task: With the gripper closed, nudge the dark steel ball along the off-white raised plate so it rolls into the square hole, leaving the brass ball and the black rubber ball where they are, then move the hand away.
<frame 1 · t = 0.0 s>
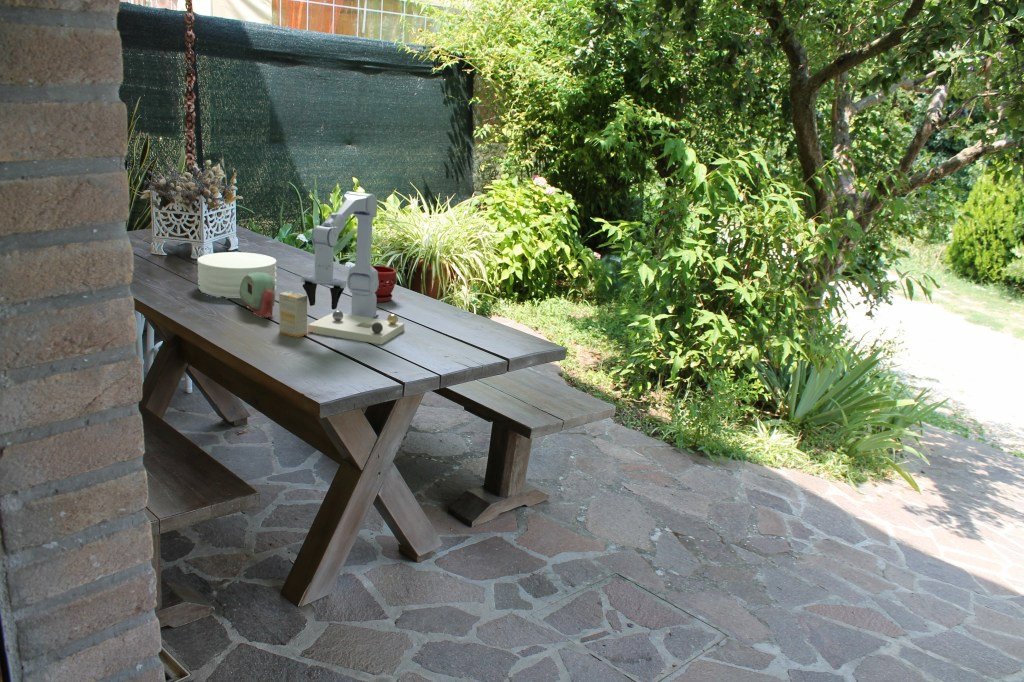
hand: (323, 307, 271), 10 cm above the table, tool pointing down, fingers open, 7 cm apart
supplement box: (293, 334, 276), on the table
black rubber ball: (377, 327, 274), point 4 cm above the table, touching hole plate
steel ball: (337, 315, 284), point 4 cm above the table, touching hole plate
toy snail: (259, 312, 297), on the table
plant pot: (377, 299, 325), on the table
brass ball: (392, 319, 285), point 4 cm above the table, touching hole plate
plate stack: (237, 290, 323), on the table
hole plate: (356, 331, 284), on the table
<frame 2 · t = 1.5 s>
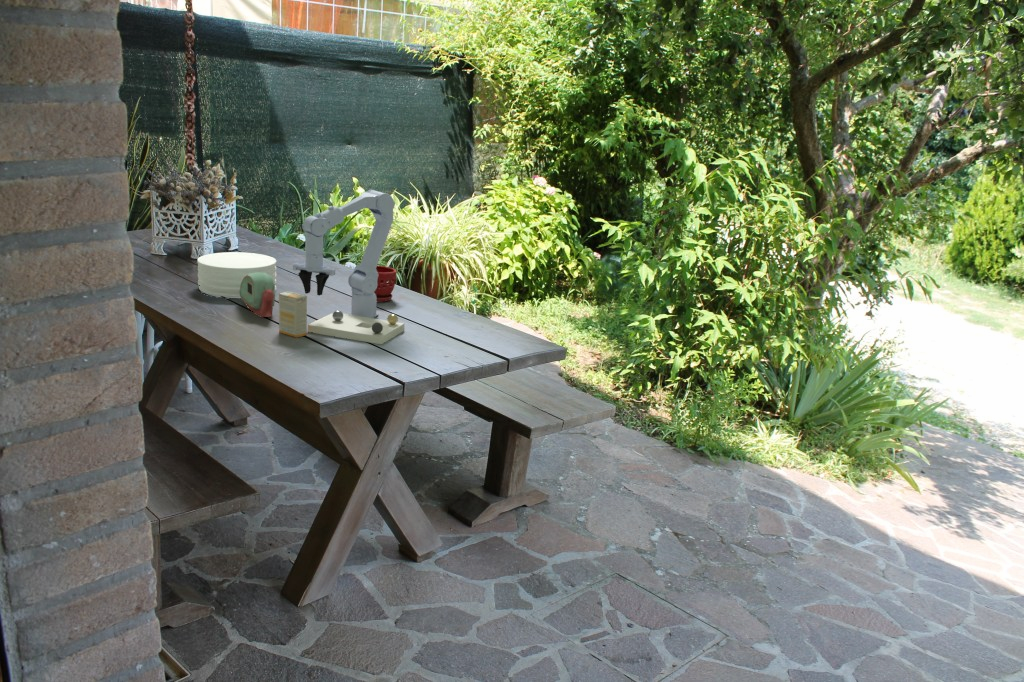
hand: (313, 293, 285), 10 cm above the table, tool pointing down, fingers open, 4 cm apart
nothing on the table moved.
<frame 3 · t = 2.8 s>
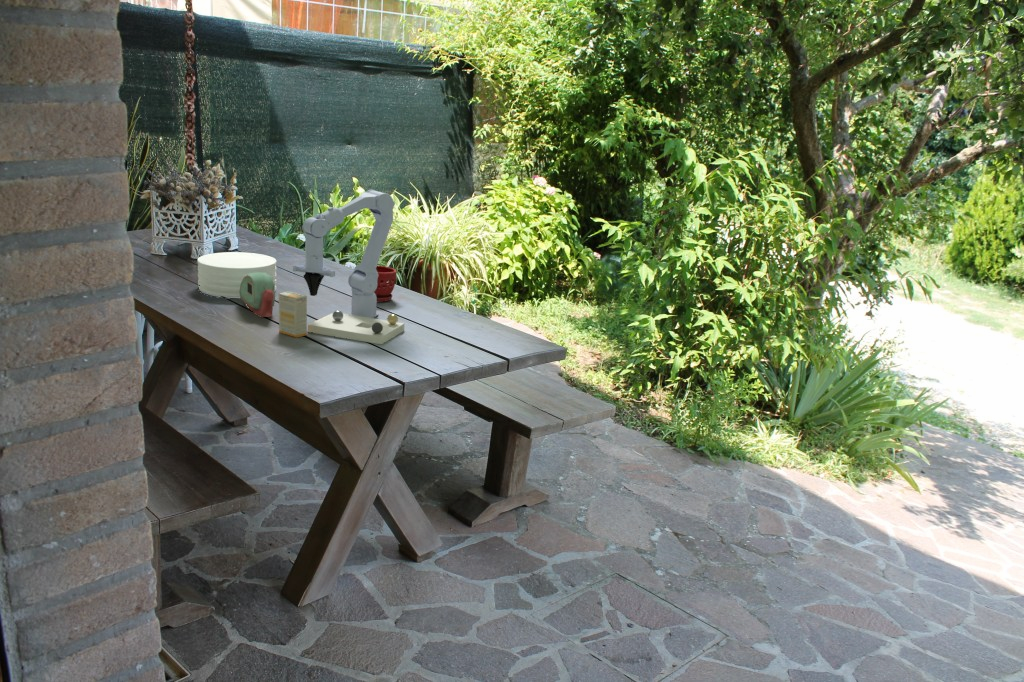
hand: (313, 295, 285), 10 cm above the table, tool pointing down, fingers closed
nothing on the table moved.
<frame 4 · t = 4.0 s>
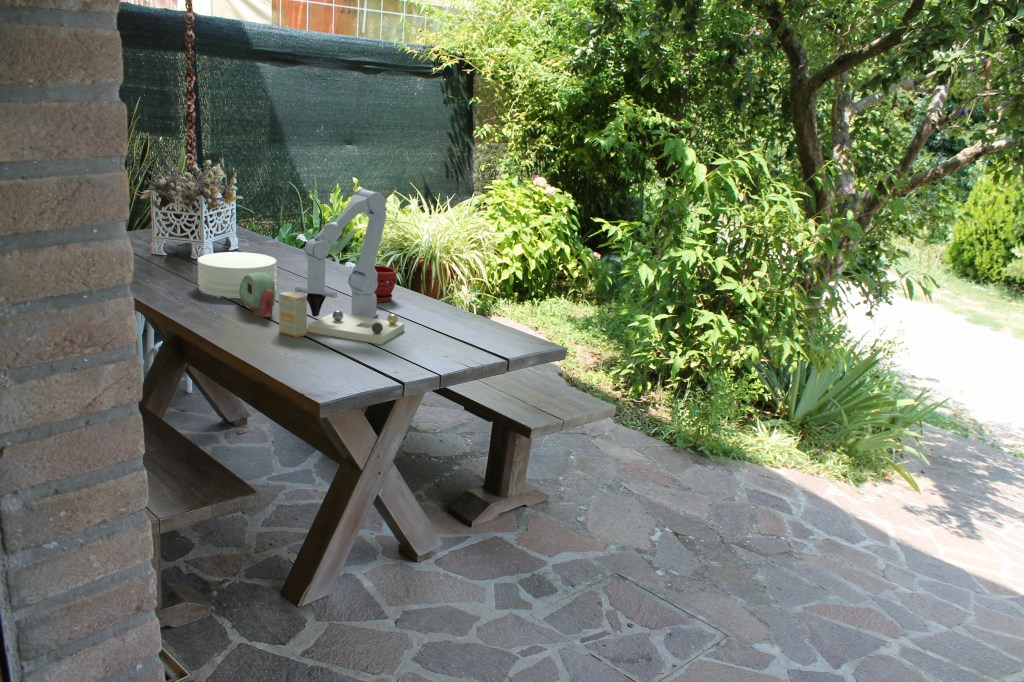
hand: (315, 315, 286), 3 cm above the table, tool pointing down, fingers closed
nothing on the table moved.
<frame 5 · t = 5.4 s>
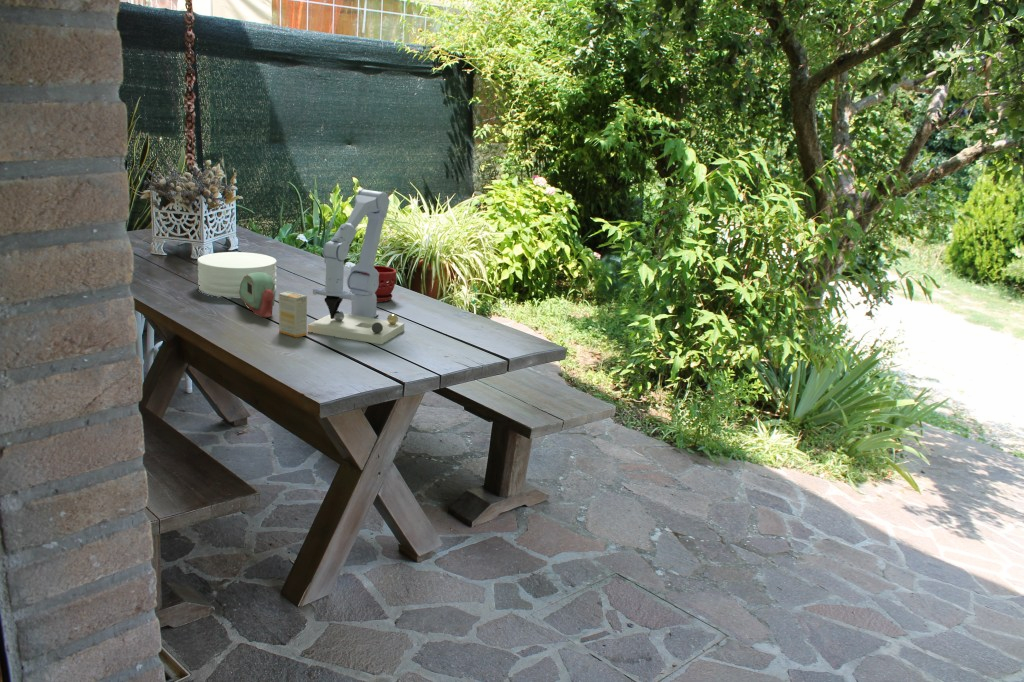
hand: (333, 318, 285), 3 cm above the table, tool pointing down, fingers closed, pressing on steel ball
steel ball: (338, 316, 284), point 4 cm above the table, tilted 14°, touching gripper, hole plate
everything else where it was.
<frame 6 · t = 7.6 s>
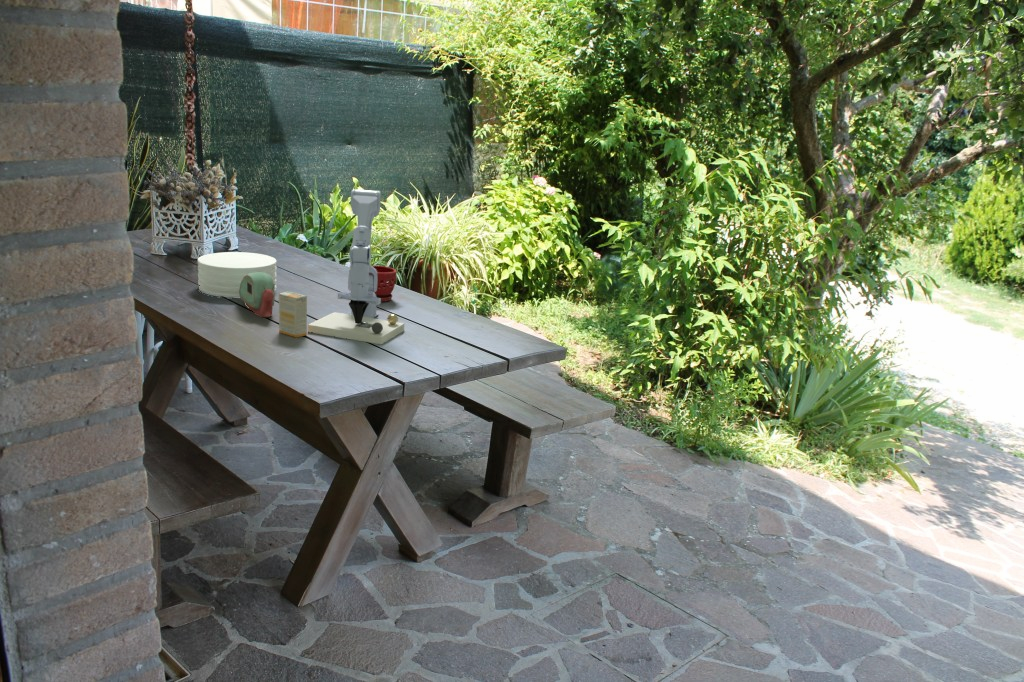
hand: (358, 322, 283), 3 cm above the table, tool pointing down, fingers closed
steel ball: (364, 326, 283), point 2 cm above the table, tilted 100°, touching gripper
everything else where it was.
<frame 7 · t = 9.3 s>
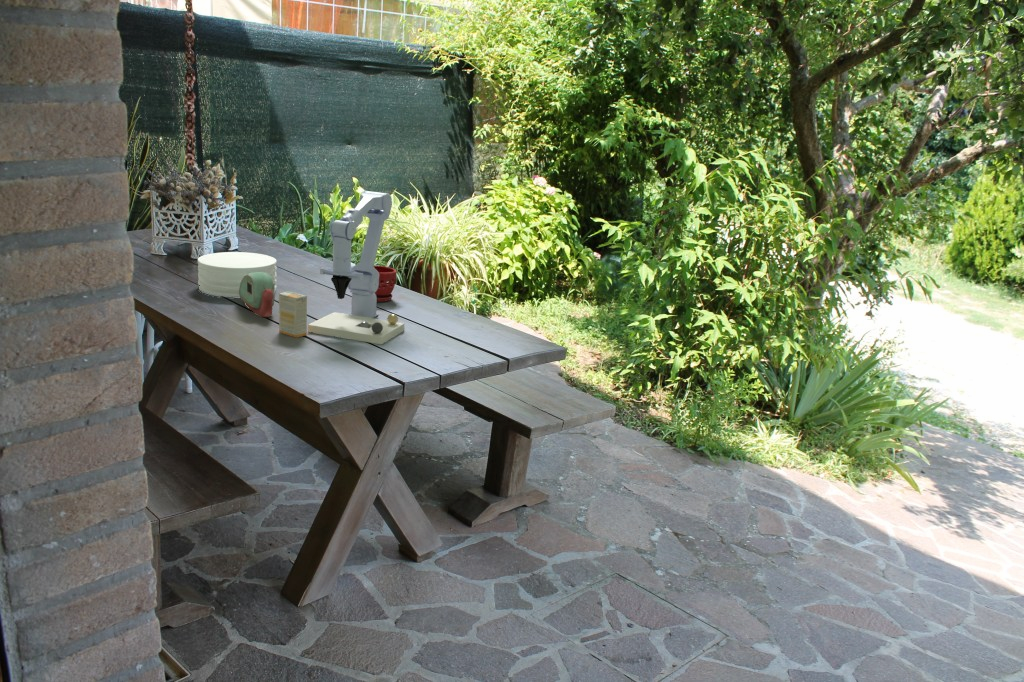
hand: (341, 298, 282), 10 cm above the table, tool pointing down, fingers closed
steel ball: (364, 326, 283), point 2 cm above the table, tilted 98°
everything else where it was.
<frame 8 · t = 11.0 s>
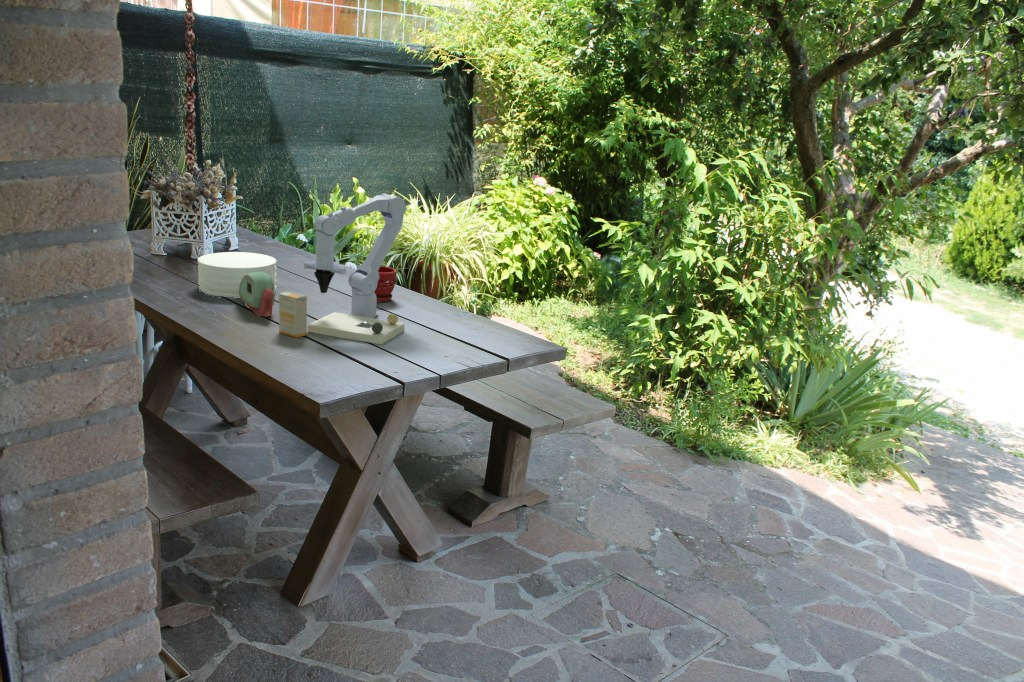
hand: (323, 292, 287), 10 cm above the table, tool pointing down, fingers closed
steel ball: (365, 326, 283), point 2 cm above the table, tilted 90°
everything else where it was.
at the end: steel ball 0.8 cm from the target spot on the hole plate, point 1.7 cm above the hole plate's base; brass ball moved 0.0 cm from its start; black rubber ball moved 0.0 cm from its start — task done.
